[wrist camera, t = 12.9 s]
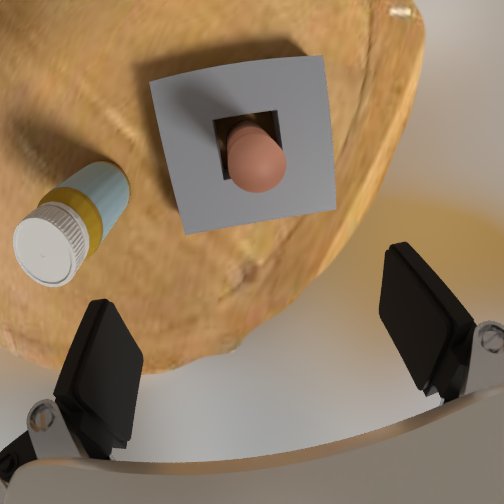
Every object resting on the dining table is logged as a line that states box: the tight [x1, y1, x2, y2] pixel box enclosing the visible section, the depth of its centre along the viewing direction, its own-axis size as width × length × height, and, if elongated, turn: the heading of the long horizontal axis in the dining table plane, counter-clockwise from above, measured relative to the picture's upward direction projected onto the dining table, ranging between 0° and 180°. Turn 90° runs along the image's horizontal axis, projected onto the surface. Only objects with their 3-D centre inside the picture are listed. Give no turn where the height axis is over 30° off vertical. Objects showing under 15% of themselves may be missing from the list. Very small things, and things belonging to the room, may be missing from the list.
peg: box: [227, 121, 286, 193], centre depth 25 cm, size 4×4×12 cm
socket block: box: [149, 55, 336, 235], centre depth 29 cm, size 16×16×4 cm
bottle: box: [13, 161, 131, 287], centre depth 25 cm, size 7×7×15 cm
